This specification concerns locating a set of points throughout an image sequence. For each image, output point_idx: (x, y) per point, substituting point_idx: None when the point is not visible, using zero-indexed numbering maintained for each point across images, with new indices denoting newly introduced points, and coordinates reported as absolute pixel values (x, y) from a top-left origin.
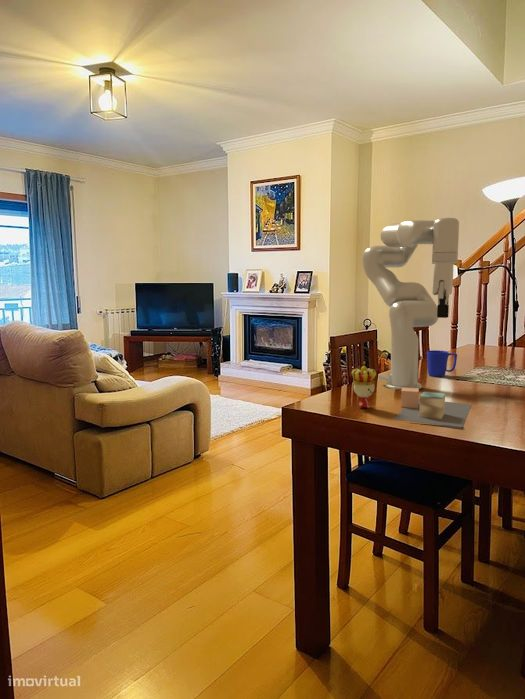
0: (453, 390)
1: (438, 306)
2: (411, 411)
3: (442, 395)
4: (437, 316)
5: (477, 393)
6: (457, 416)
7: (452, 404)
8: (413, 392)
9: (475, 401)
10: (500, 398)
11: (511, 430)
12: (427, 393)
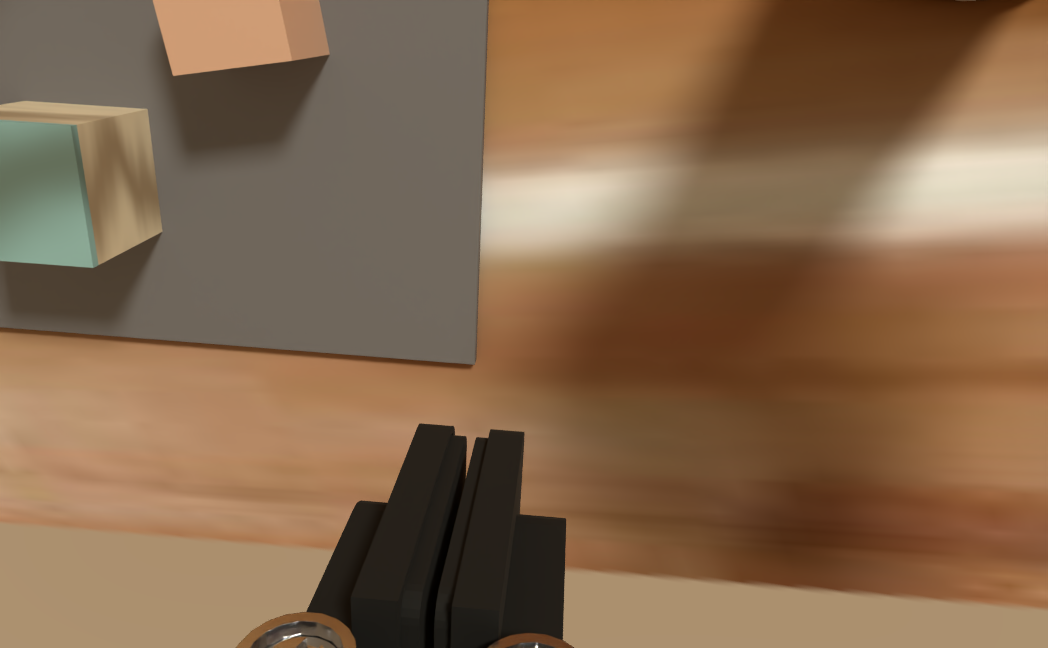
0: (933, 244)
1: (359, 590)
2: (115, 38)
3: (24, 255)
4: (415, 432)
5: (860, 390)
6: (145, 297)
7: (417, 262)
8: (165, 37)
9: (609, 377)
10: (740, 501)
11: (78, 503)
12: (26, 158)
